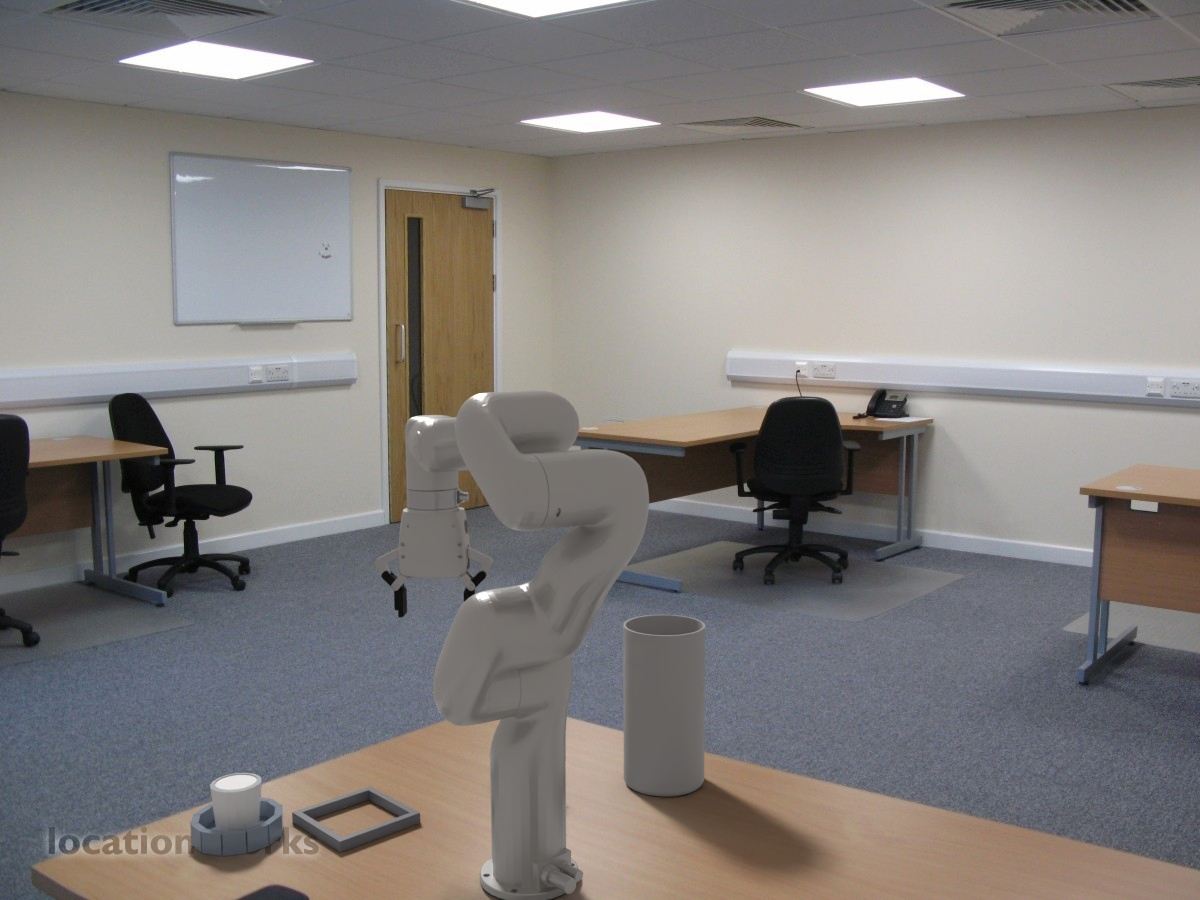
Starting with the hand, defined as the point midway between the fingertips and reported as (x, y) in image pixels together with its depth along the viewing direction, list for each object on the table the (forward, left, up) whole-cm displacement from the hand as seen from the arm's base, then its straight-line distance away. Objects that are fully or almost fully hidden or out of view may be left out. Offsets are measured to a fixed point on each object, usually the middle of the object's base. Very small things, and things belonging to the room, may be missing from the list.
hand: (435, 615), depth 163 cm
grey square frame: (+2, +13, -28) cm, 31 cm away
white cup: (+10, +27, -28) cm, 40 cm away
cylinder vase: (-19, -29, -28) cm, 45 cm away
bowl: (+10, +27, -28) cm, 40 cm away
